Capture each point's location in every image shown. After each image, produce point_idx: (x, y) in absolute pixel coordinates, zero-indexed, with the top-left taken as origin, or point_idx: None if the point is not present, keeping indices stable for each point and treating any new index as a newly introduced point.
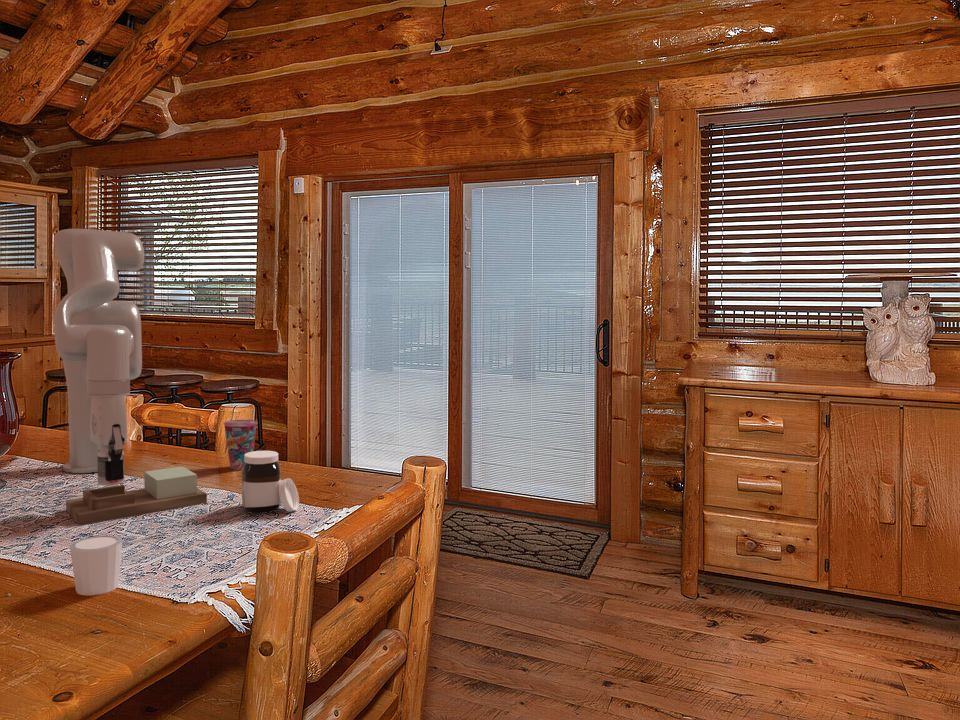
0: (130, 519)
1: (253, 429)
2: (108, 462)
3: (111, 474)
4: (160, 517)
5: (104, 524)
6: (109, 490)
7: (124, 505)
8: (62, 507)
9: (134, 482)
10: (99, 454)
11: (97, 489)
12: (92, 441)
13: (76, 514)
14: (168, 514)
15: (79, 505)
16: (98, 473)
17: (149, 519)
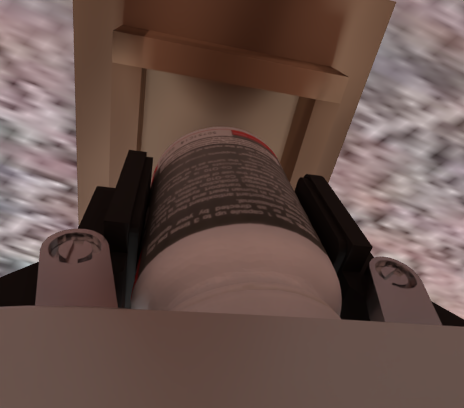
0: (45, 133)
1: None
2: (104, 233)
3: (95, 190)
4: (8, 213)
5: (32, 28)
6: (287, 177)
7: (109, 156)
8: (425, 6)
9: (459, 293)
10: (233, 244)
11: (306, 135)
12: (442, 328)
13: None
14: (31, 241)
15: (254, 11)
16: (226, 151)
17: (3, 180)
